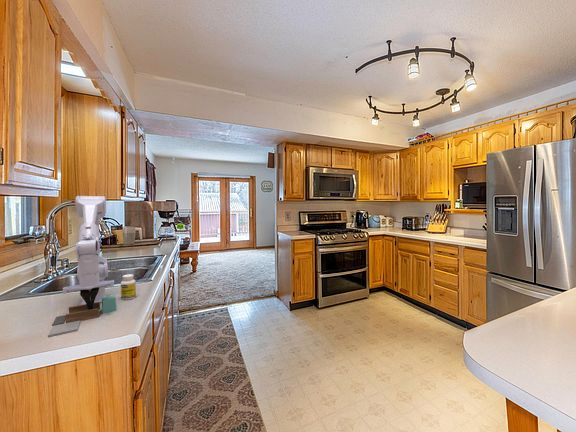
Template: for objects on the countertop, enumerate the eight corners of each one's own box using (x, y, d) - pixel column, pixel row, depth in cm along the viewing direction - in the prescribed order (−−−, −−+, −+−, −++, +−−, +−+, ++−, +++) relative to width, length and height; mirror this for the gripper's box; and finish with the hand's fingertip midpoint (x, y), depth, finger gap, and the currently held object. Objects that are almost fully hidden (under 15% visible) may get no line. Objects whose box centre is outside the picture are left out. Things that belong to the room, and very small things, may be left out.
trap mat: (56, 317, 89) (56, 316, 89) (67, 315, 91) (67, 314, 91) (51, 326, 83) (51, 324, 83) (63, 323, 85) (63, 322, 85)
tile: (53, 327, 82) (52, 325, 82) (80, 322, 86) (80, 320, 86) (47, 337, 77) (47, 335, 77) (77, 330, 81) (77, 328, 80)
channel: (69, 314, 92) (69, 306, 91) (100, 309, 97) (99, 301, 96) (65, 323, 85) (65, 315, 85) (98, 317, 90) (98, 309, 90)
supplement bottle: (119, 301, 105) (119, 278, 104) (122, 296, 109) (121, 274, 109) (134, 299, 107) (134, 276, 106) (136, 294, 112) (136, 273, 111)
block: (102, 310, 96) (101, 297, 96) (114, 307, 98) (114, 294, 98) (103, 313, 93) (102, 300, 93) (116, 310, 96) (115, 297, 95)
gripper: (60, 278, 84) (62, 318, 84) (113, 272, 92) (114, 308, 93) (64, 273, 89) (66, 310, 90) (113, 267, 97) (114, 301, 98)
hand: (90, 308), depth 92 cm, fingers closed
